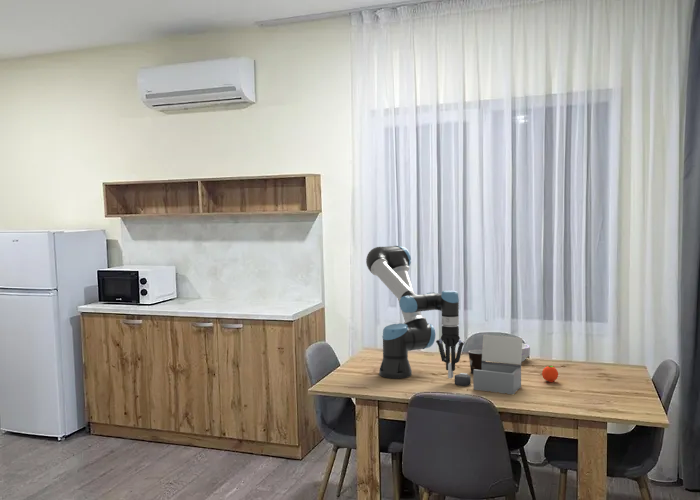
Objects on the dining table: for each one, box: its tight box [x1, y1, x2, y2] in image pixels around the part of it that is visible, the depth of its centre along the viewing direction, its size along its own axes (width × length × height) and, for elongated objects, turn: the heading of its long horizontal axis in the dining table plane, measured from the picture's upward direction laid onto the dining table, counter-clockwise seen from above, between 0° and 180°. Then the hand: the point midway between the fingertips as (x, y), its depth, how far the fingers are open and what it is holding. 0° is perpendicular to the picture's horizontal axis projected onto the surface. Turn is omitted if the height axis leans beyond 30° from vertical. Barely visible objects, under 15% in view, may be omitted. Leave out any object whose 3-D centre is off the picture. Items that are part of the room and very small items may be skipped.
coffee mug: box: [468, 349, 482, 375], centre depth 295 cm, size 12×9×10 cm
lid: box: [481, 334, 523, 366], centre depth 274 cm, size 17×12×2 cm
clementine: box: [541, 365, 559, 383], centre depth 277 cm, size 8×7×7 cm
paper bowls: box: [521, 342, 531, 363], centre depth 318 cm, size 15×15×8 cm
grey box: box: [472, 361, 522, 395], centre depth 268 cm, size 17×13×10 cm
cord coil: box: [454, 372, 472, 387], centre depth 275 cm, size 7×7×5 cm
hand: (450, 377), depth 278 cm, fingers closed
